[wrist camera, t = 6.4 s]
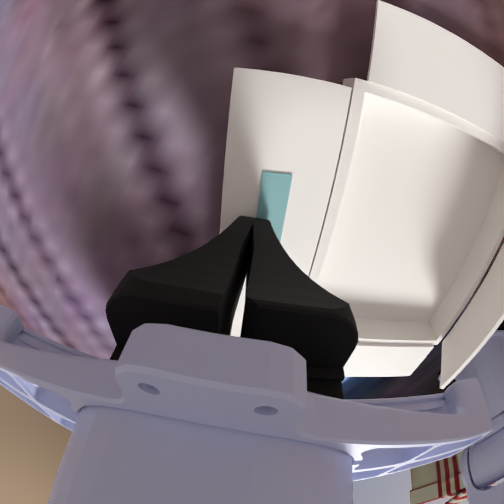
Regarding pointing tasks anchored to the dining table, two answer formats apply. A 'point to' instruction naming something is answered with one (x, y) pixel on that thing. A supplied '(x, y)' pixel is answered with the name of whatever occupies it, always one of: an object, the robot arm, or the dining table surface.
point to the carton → (413, 191)
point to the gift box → (438, 481)
